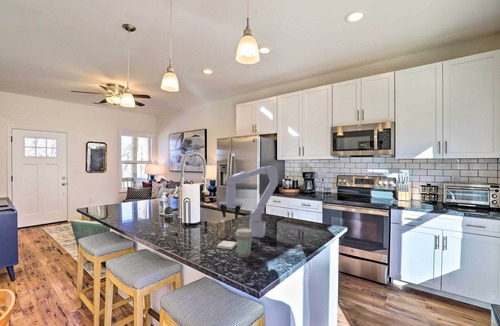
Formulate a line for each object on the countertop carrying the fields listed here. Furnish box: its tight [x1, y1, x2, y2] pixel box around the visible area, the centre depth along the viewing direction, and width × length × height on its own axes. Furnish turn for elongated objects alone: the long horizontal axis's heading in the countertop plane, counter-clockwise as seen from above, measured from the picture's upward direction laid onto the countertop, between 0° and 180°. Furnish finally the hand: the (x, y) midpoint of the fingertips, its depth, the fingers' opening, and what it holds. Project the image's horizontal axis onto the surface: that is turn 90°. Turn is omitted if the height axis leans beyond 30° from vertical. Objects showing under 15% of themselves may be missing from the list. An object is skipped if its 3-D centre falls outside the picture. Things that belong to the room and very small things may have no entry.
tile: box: [216, 240, 237, 250], centre depth 129 cm, size 8×2×8 cm
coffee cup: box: [234, 227, 253, 258], centre depth 117 cm, size 9×8×12 cm
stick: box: [217, 219, 226, 240], centre depth 142 cm, size 3×3×10 cm
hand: (230, 217), depth 148 cm, fingers open, 7 cm apart
